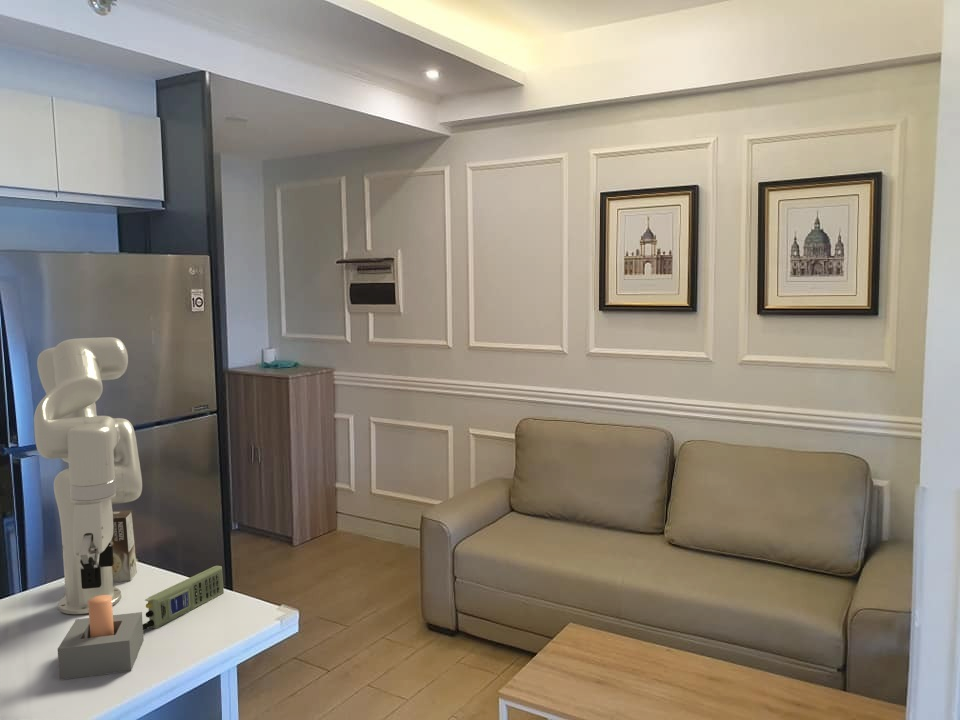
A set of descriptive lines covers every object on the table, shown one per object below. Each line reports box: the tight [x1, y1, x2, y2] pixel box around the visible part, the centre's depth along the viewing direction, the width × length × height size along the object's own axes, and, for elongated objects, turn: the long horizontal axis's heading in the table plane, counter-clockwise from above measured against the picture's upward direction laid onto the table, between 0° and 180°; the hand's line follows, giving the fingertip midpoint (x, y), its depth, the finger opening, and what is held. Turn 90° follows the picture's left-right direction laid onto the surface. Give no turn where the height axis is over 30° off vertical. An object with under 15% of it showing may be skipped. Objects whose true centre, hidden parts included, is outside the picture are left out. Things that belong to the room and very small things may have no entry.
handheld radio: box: [143, 565, 225, 632], centre depth 158 cm, size 7×3×25 cm
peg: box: [88, 595, 114, 638], centre depth 138 cm, size 4×4×12 cm
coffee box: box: [111, 509, 138, 583], centre depth 177 cm, size 9×6×16 cm
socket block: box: [57, 611, 144, 681], centre depth 139 cm, size 12×12×6 cm
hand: (98, 576), depth 138 cm, fingers open, 9 cm apart
